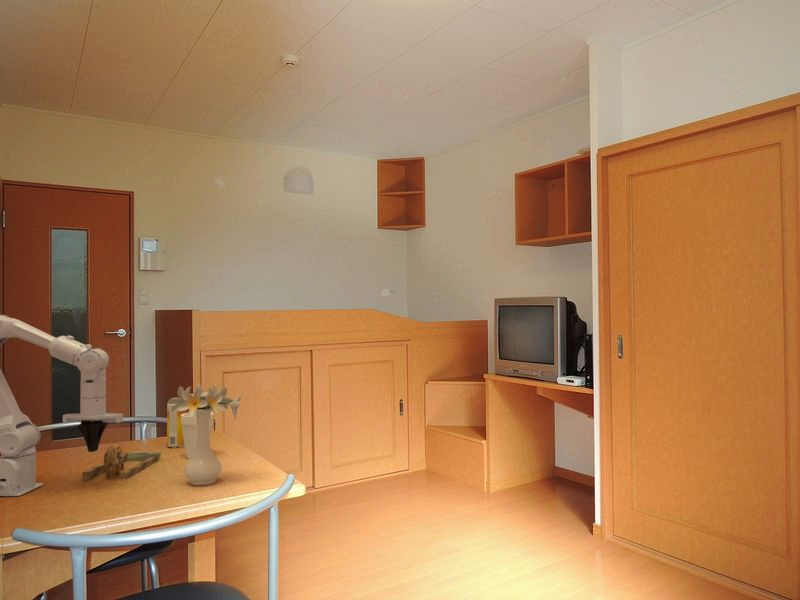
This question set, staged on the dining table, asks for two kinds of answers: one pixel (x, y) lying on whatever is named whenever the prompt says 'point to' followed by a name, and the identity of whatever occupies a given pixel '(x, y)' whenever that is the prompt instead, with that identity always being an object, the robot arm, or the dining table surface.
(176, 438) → the yellow box
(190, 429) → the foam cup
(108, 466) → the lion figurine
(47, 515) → the dining table surface
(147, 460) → the flange channel
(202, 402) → the flower vase
